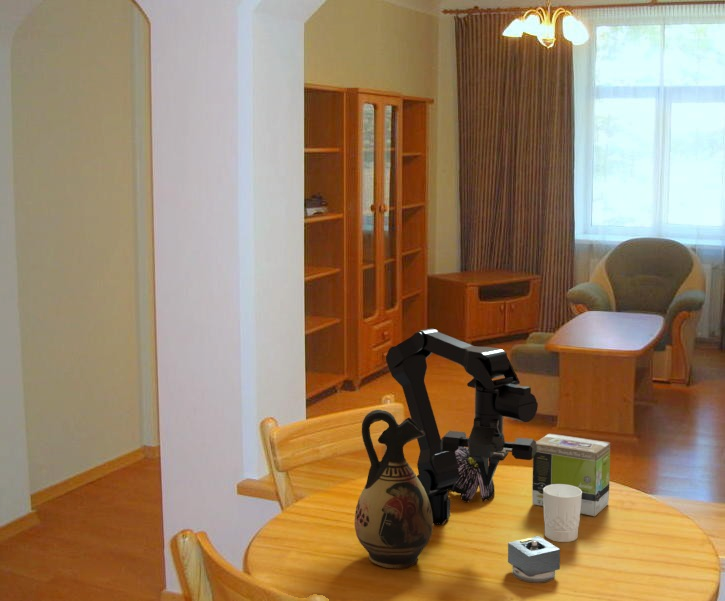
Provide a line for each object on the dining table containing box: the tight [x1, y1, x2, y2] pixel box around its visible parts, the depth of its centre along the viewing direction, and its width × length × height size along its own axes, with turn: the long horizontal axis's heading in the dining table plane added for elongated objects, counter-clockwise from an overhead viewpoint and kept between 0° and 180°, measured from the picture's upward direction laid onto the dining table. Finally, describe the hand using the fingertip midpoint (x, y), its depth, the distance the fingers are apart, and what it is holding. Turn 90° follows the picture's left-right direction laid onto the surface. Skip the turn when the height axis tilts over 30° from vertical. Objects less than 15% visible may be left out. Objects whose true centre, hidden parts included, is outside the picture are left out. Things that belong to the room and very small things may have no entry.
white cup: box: [543, 484, 582, 543], centre depth 203 cm, size 8×8×10 cm
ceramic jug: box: [346, 409, 434, 570], centre depth 191 cm, size 17×15×30 cm
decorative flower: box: [448, 446, 496, 503], centre depth 228 cm, size 15×12×15 cm
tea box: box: [531, 432, 611, 517], centre depth 221 cm, size 15×10×15 cm
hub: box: [511, 540, 556, 584], centre depth 186 cm, size 8×8×6 cm
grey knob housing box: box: [507, 535, 561, 577], centre depth 186 cm, size 7×7×4 cm
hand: (487, 485), depth 200 cm, fingers closed
